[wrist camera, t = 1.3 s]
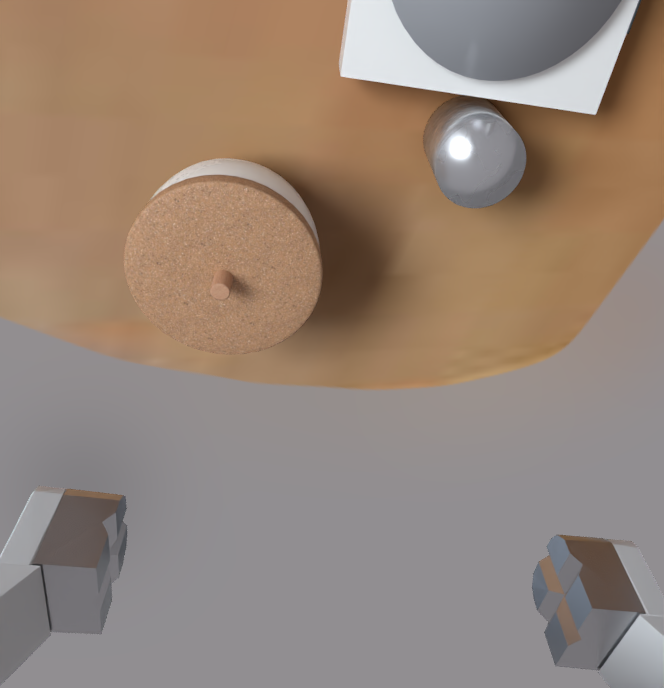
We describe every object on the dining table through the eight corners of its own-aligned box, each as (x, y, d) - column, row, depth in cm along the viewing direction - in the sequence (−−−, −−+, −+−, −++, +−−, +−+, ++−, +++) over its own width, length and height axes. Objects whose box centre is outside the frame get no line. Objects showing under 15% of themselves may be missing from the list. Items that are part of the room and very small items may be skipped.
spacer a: (433, 89, 36) (448, 113, 32) (513, 101, 37) (538, 127, 32) (415, 170, 39) (426, 202, 35) (490, 180, 39) (510, 213, 35)
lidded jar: (118, 179, 39) (70, 248, 31) (272, 101, 36) (260, 156, 29) (210, 311, 44) (188, 397, 37) (348, 252, 42) (355, 331, 34)
